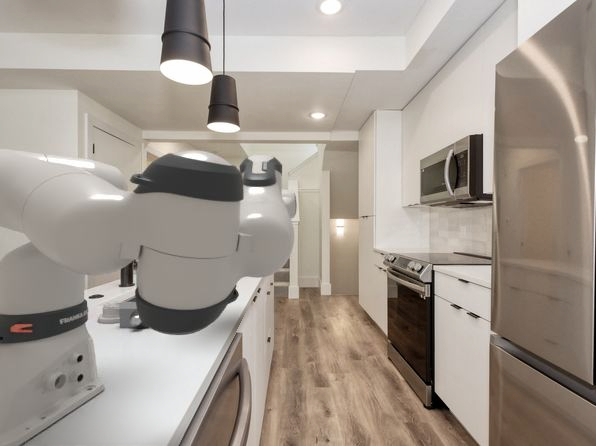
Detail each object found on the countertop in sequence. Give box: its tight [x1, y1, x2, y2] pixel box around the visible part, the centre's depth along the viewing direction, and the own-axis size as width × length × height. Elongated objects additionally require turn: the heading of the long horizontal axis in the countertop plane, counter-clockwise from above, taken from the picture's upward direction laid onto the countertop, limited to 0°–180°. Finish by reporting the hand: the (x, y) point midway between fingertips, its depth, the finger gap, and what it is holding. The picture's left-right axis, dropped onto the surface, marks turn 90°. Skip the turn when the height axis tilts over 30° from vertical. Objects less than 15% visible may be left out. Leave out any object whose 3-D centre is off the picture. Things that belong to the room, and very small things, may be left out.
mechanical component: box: [97, 300, 124, 324], centre depth 93 cm, size 10×4×10 cm
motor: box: [119, 295, 149, 329], centre depth 88 cm, size 14×11×6 cm
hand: (184, 205), depth 86 cm, fingers open, 8 cm apart
